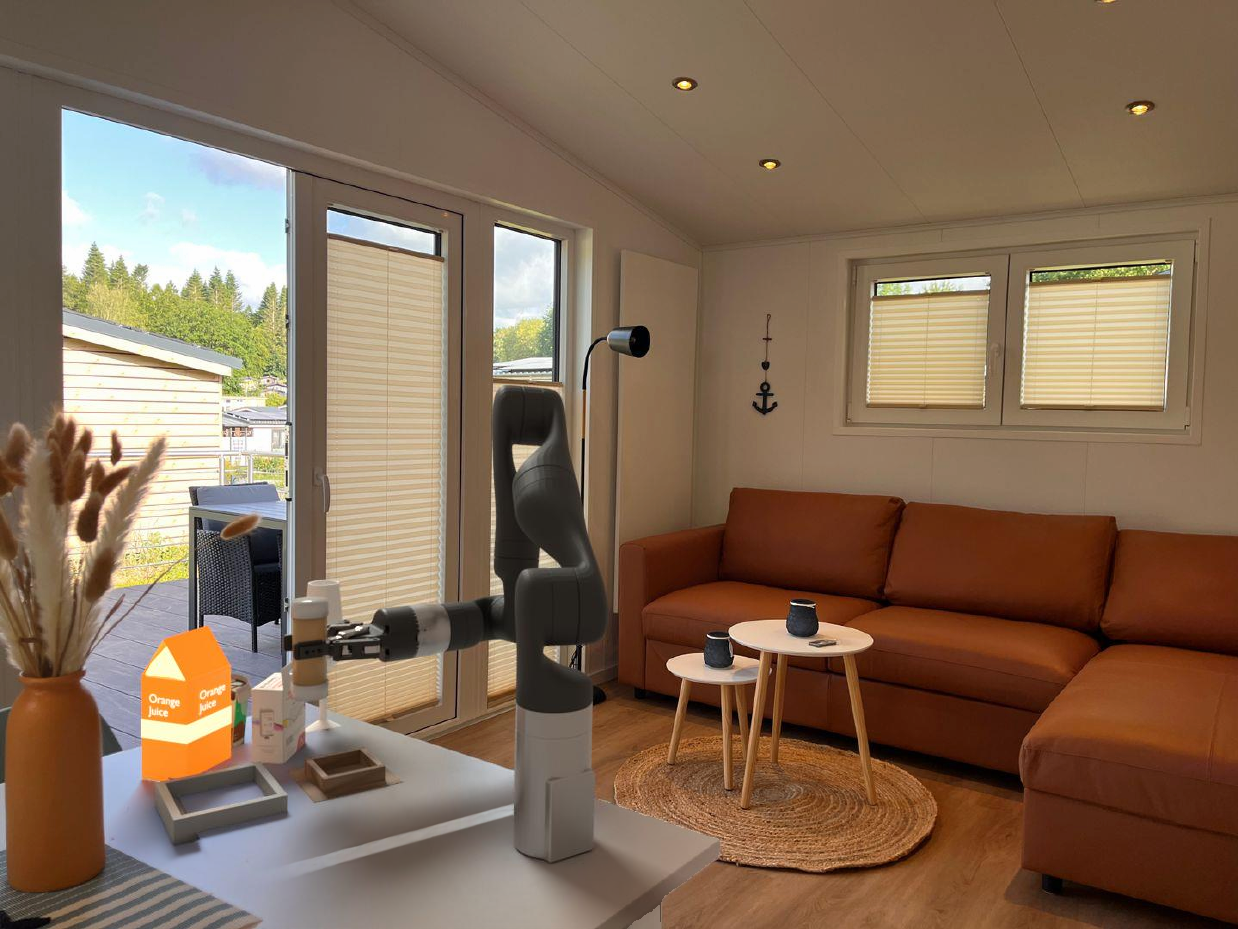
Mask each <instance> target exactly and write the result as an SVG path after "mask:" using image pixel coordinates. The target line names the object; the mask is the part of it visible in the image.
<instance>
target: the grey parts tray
mask: <svg viewBox="0 0 1238 929" xmlns="http://www.w3.org/2000/svg"><path fill="white" fill-rule="evenodd" d="M252 781H255V783H256V784H257V786H258V787H260V789H261V791H262V792H263V793H264V795H265V796H263V797H262V796H261V797H257V798H254V799H253V798H252V799H248V800H244V801H240V802H235V803H231V804H225V805H222V806H217V807H211V808H209V809H208V808H207V809H204V810H200V811H199V810H198V811H193V812H191V813H190V812H189V813H187V811H186V809H185V807H184V804H183V803H182V801H181V799H180V798H179V797H182V796H186V795H190V794H195V793H200V792H204V791H209V790H215V789H218V788H223V787H229V786H234V785H238V784H242V783H243V784H244V783H247V782H252ZM154 799H155V801H154V805H155V804H156V806H155V808H156V807H157V808H156V810H157V809H158V810H157V812H158V815H159V816H161V817H160V818H161V821H162V823H163V825H164V827H165V830H166V832H167V834H168V835H169V839H170V841H171V843H172V845H173V846H178V845H181V844H186V843H189V842H194V841H198V840H201V838H200V836H199V834H198V833H201V832H203V831H208V830H212V829H216V828H221V827H225V826H229V825H234V824H237V823H242V822H246V821H250V820H255V819H258V818H264V817H268V816H270V815H276V814H280V813H284V812H288V793H287V792H286V791H285V790H284V789H283V788H282V786H281V785H280V784H279V783H278V781H277V780H276V779H275V778H274V776H273V775H272V773H270V771H269V770H268V769H267V768H266V767H265V765H264V763H261V761H260V762H255V763H253V762H251V763H245V764H241V765H235V766H230V767H226V768H221V769H217V770H211V771H206V772H205V771H204V772H202V773H200V774H195V775H190V776H185V777H180V778H171V779H170V778H169V780H165V781H160V782H154Z"/></svg>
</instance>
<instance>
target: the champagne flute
mask: <svg viewBox="0 0 1238 929" xmlns="http://www.w3.org/2000/svg"><path fill="white" fill-rule="evenodd" d="M306 597H325V598H328V599H329V615H328V616H327V623H331V622H337V621H342V620H344V619H343V609H342V599H341V597H342V596H341V587H340V581H339V580H334V579H319V580H312V581H309V582H307V590H306ZM339 662H340V661H333V658H330V659H327V672H328V671H330V670H332V669H333V667H335V665H337V664H338V663H339ZM318 703H319V704H318V706H319V707H318V708H319V711H318V712H319V716H318V718H319V719H318V720H316V721H314V722H313V723H311V724H309V725H308V726H305V734H306V733H311V732H316V731H321V730H326V729H327V730H328V729H334V728H338V727H342V725H340V723H337V722H335V721H332V720H331V719H330V718H328V696H327V697H326V698H324V699H321V700H318Z"/></svg>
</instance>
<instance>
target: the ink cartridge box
mask: <svg viewBox="0 0 1238 929" xmlns="http://www.w3.org/2000/svg"><path fill="white" fill-rule="evenodd" d="M280 670H281V671H280V672H274V673H272V674H271V675H269V676H268V677H267V678H265V679H264V680H262V681H261V682H260V683H259V684H257V685H255V686H254V687H252V689H251V697H250V698H251V699H250V701H251V705H250V706H251V751H252V752H251V754H252V757H251V760H252V761H251V763H255V762H260V761H261V763H262V764H285V763H287V762H288V761H289V760H290V759H291V757H292V756H293V755H294V754H296V752H297V751H299V749H300V748H301V747H302V746H304V744H305V743H306V733H305V728H306V702H299V701H294V700H292V699H291V681H292V660H291V661H290V662H288V663H287V664H286V665H285V666H283V667H282V668H281V669H280Z"/></svg>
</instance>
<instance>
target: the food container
mask: <svg viewBox="0 0 1238 929" xmlns="http://www.w3.org/2000/svg"><path fill="white" fill-rule="evenodd" d="M252 688H253V687H252V683H251V681H250V679H249V677H248V676H245V675H243V674H238V673H234V672H231V749H234V748H235V747H238V746H240V745H245V737H246V724H247V713H248V705H249V704H248V701H249V699H250V698H251V689H252Z"/></svg>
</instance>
